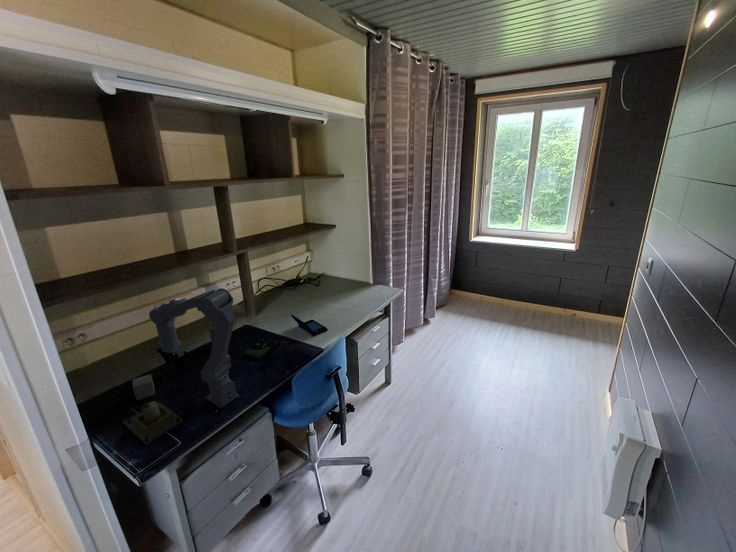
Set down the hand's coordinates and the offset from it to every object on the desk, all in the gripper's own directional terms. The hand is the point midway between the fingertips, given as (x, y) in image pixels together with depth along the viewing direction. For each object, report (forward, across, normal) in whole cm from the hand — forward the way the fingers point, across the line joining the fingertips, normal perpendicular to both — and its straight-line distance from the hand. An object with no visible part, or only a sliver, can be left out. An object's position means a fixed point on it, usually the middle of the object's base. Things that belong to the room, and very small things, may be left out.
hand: (175, 366), depth 128 cm
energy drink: (+11, +14, -26) cm, 31 cm away
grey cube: (+11, +9, +9) cm, 17 cm away
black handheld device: (+11, -10, -63) cm, 65 cm away
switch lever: (+9, -11, +15) cm, 21 cm away
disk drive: (+11, -5, -36) cm, 38 cm away
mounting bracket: (+10, -10, +15) cm, 21 cm away
